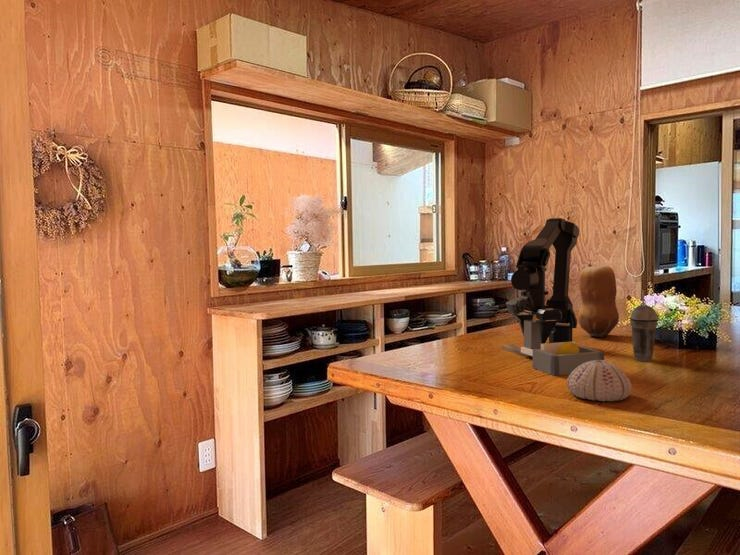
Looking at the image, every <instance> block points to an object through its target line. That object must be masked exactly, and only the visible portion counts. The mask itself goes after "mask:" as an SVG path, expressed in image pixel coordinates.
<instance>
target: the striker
mask: <svg viewBox="0 0 740 555" xmlns="http://www.w3.org/2000/svg"><path fill="white" fill-rule="evenodd" d="M536 320H537V319H533V320H524V336H523V346H520V347H521V353H524V354H527V355H530V356H533V349H539V350H542V351H546V352H549V353H552V354H555V355H556V353H557V350H558V348H559V347H560V346H561V345H562V344H563V343H565V342H560V343H549V342H546V343H544V344H542V343H541V336H540V326H539V324H538V323H537V322H536ZM572 343H574V344H576V345H577V342H575V341H572Z"/></svg>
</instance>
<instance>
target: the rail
mask: <svg viewBox="0 0 740 555" xmlns="http://www.w3.org/2000/svg"><path fill="white" fill-rule="evenodd" d="M521 347H522V346H518V345H515V344H511V343H509V344H501V345H500V348H501V349H502V350H505V351H507V350H508V352H511V353H513V354H516V355H518V356H522V357H525V358H527V359H533V356H530V355H527V354H524V353H521Z"/></svg>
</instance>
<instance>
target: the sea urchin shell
mask: <svg viewBox="0 0 740 555" xmlns="http://www.w3.org/2000/svg"><path fill="white" fill-rule="evenodd" d="M566 383H567V384H566V386H567V389H568V390H569V392H570V393H571V394H572V395H573V396H576V398H579V399H583V400H585V399H587V400H589V401H599V402H615V401H616V402H617V401H618V402H619V401H622V400H624V399H625V400H626V399H627V398H628V397H629V395H630V394H631V392H632V390H633V388H632V387H633V385H632V382H631V380H630V378H628V375H627V374H626V372H624V370H622V369H621V367H618V366H617V365H616V364H614V363H612V362H611V361H608V360H605V359H604V360H593V361H589V362H586V363H582V364H581V365H580V366H578V367H577V368H576V369H575V370H574V371H572V373H571V374H568V377H567V380H566Z"/></svg>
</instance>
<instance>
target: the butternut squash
mask: <svg viewBox="0 0 740 555" xmlns="http://www.w3.org/2000/svg"><path fill="white" fill-rule="evenodd" d="M578 283H579V284H578V285H579V286H578V287H579V291H580V296H581V305H580V308H579V310H578V314H577V315H578V316H577V317H578V318H577V321H578V323H579V325H580V327H581V329H582V330H583V331H585V332H586V333H587V334H589V335H590V336H592V337H598V338H606V337H607V336H608V335H609V334H610V333H611V332H612V331H613V330H614V328H615V327H616V326H617V325H618V324H619V320H620V316H619V311H618V308H617V305H616V298H617V293H618V292H617V280H616V275H615V271H614V269H613V268H612V267H610V266H609V265H598V266H587V267H586V266H585V267H584V268H583V269H581V271H580V272H579V278H578ZM605 336H606V337H605Z"/></svg>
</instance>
